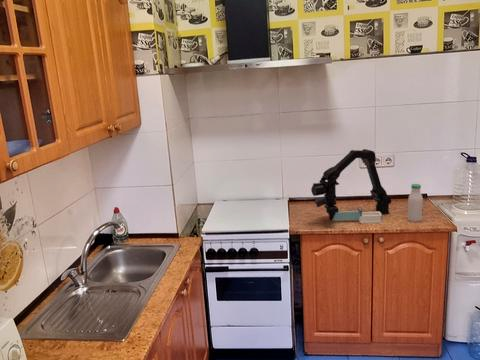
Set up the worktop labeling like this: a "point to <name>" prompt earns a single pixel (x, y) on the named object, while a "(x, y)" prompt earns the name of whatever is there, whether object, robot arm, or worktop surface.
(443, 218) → the worktop surface
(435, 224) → the worktop surface
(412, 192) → the milk bottle
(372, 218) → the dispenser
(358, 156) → the robot arm
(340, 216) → the teal square rod
